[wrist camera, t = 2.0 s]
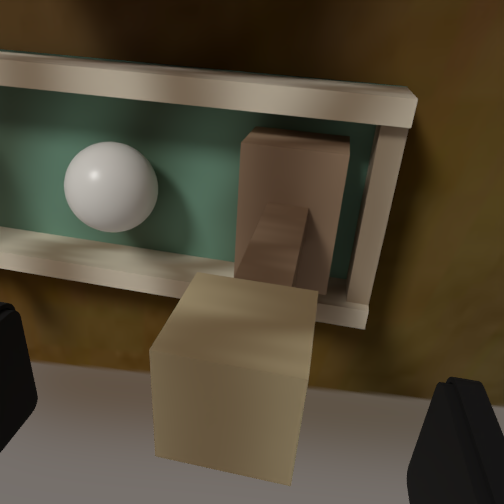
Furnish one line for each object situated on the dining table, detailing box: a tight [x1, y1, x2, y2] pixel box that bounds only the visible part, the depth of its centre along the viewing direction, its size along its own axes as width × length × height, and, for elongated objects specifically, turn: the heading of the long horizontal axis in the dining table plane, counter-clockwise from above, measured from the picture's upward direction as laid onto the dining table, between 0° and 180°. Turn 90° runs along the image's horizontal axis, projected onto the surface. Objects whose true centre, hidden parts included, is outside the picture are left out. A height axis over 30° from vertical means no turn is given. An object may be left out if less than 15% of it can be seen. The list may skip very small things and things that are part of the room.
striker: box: [149, 126, 350, 486], centre depth 14 cm, size 4×6×13 cm, turn 176°
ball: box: [64, 142, 158, 232], centre depth 20 cm, size 4×4×4 cm
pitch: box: [0, 49, 418, 330], centre depth 20 cm, size 30×10×8 cm, turn 86°
